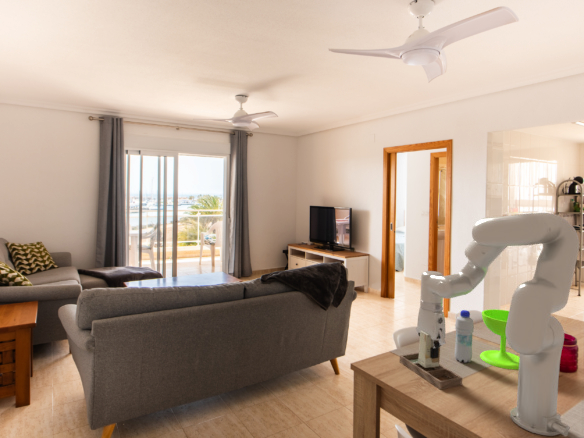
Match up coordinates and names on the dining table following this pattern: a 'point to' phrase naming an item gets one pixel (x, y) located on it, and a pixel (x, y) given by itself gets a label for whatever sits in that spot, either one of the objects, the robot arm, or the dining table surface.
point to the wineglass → (501, 358)
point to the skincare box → (426, 351)
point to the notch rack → (432, 372)
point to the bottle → (464, 337)
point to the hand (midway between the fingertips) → (429, 354)
